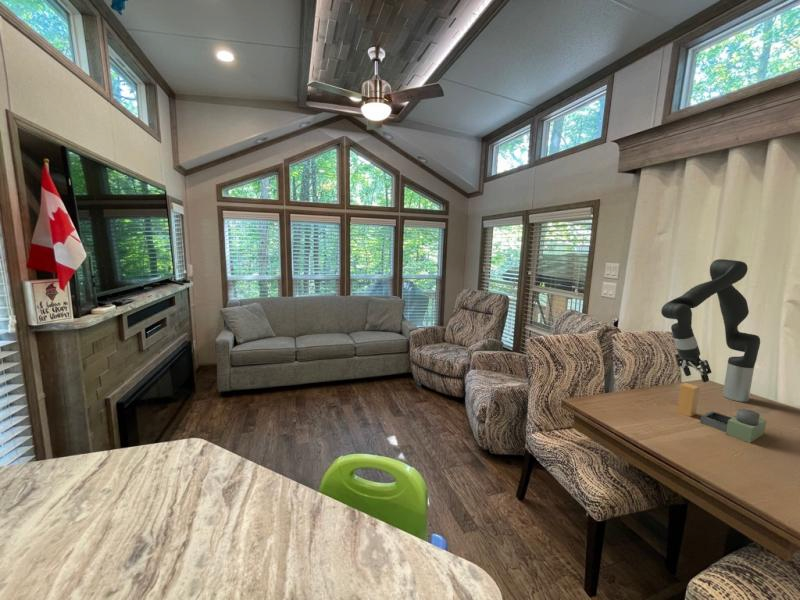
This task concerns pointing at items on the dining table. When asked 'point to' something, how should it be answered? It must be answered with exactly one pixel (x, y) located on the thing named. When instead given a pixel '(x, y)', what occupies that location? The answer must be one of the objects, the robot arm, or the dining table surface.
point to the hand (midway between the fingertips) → (697, 378)
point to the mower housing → (746, 425)
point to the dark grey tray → (709, 420)
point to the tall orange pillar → (688, 399)
